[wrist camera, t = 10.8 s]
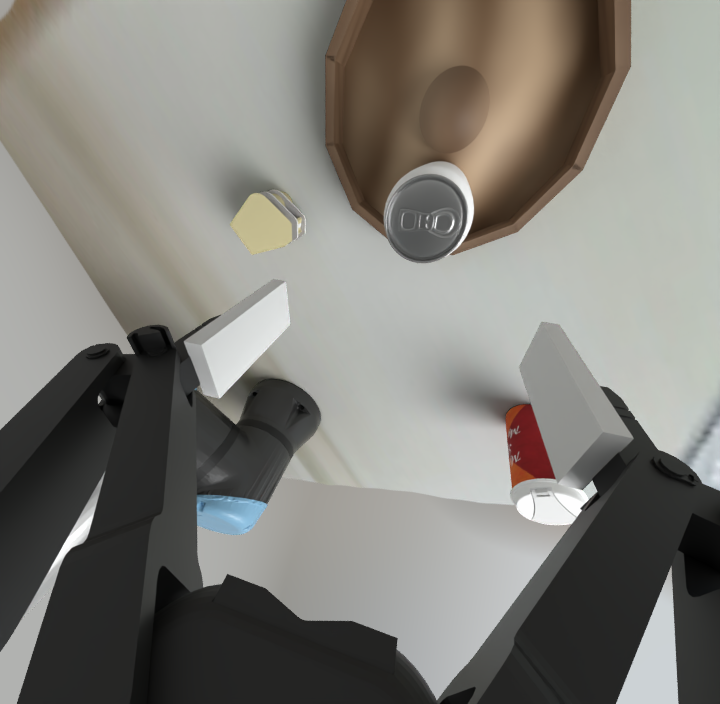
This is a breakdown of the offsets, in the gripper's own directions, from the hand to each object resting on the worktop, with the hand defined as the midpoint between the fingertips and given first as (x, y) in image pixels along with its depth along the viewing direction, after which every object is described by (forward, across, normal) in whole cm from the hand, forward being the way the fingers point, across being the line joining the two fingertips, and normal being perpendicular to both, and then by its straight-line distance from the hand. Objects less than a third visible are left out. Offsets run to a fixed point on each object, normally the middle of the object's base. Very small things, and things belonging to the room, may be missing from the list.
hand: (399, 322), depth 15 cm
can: (+20, 0, -4) cm, 21 cm away
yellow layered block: (+22, +18, 0) cm, 28 cm away
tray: (+21, 0, -10) cm, 23 cm away
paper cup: (+22, -20, +24) cm, 38 cm away
